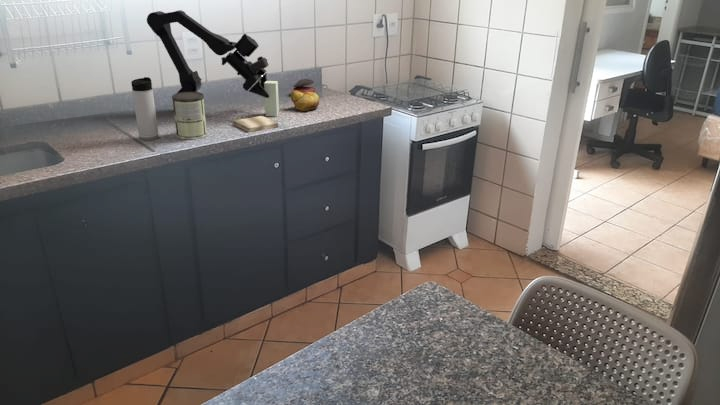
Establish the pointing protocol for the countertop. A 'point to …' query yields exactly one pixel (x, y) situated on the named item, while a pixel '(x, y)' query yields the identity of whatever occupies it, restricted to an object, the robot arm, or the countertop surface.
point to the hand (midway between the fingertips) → (270, 94)
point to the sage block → (271, 98)
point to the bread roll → (305, 100)
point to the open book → (255, 123)
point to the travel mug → (145, 109)
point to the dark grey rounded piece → (304, 85)
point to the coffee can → (189, 115)
